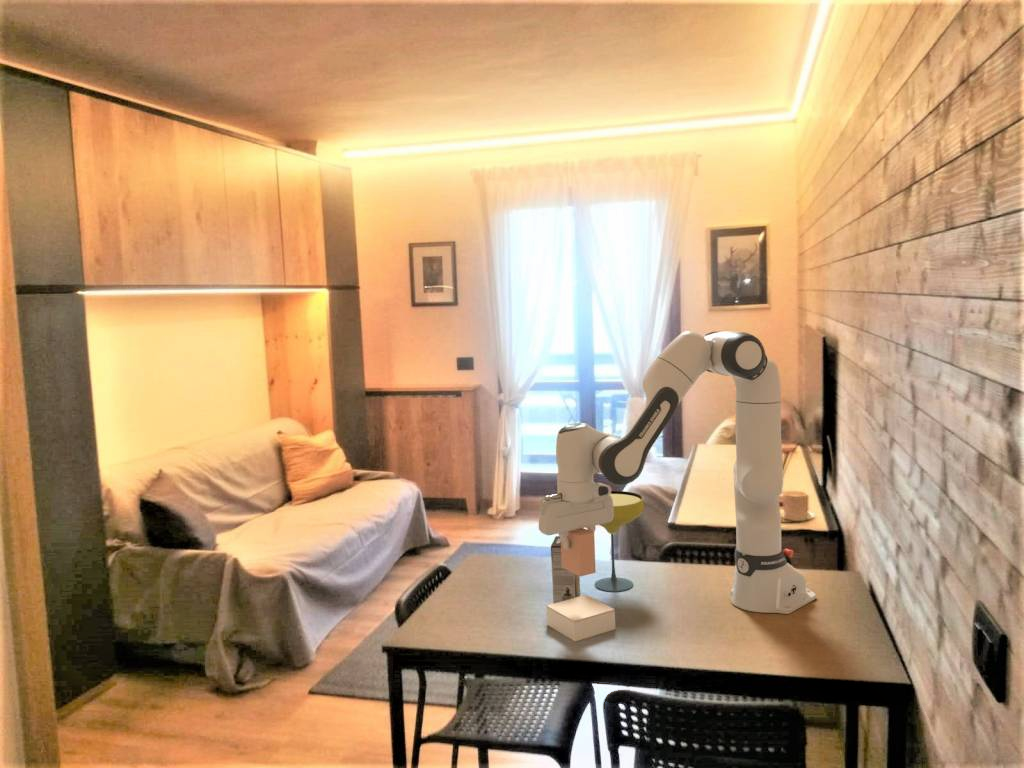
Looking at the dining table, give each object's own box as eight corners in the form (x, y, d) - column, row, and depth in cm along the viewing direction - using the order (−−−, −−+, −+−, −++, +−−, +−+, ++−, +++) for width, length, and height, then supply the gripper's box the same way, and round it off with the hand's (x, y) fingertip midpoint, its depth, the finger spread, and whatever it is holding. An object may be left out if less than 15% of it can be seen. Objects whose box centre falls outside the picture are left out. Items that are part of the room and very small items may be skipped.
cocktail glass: (585, 573, 229) (582, 490, 226) (647, 574, 225) (644, 490, 223) (578, 595, 211) (574, 506, 209) (645, 597, 207) (642, 506, 205)
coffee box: (557, 591, 215) (555, 535, 214) (580, 592, 214) (578, 535, 212) (552, 604, 206) (550, 545, 205) (576, 604, 205) (574, 545, 203)
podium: (586, 613, 199) (586, 594, 198) (615, 629, 188) (614, 609, 188) (547, 624, 193) (546, 605, 192) (574, 641, 182) (574, 621, 182)
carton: (576, 563, 194) (575, 525, 193) (595, 572, 187) (594, 532, 186) (561, 567, 192) (560, 528, 191) (580, 576, 185) (578, 535, 184)
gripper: (546, 499, 179) (548, 557, 181) (616, 486, 190) (618, 541, 191) (532, 494, 185) (534, 550, 186) (601, 481, 195) (603, 535, 196)
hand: (577, 545), depth 189 cm, fingers closed on carton, 4 cm apart
